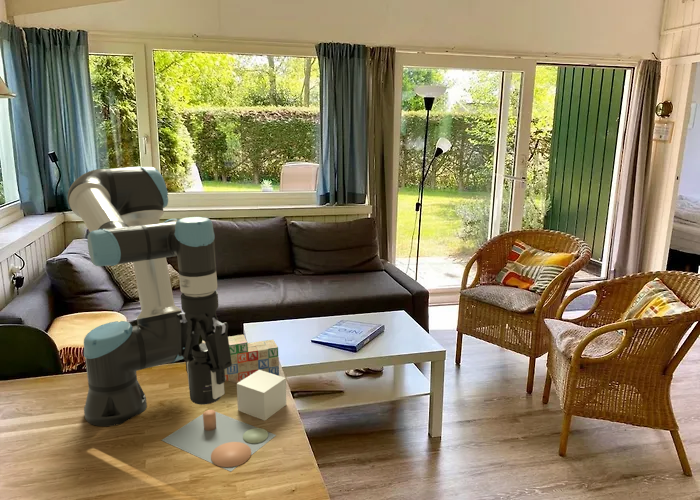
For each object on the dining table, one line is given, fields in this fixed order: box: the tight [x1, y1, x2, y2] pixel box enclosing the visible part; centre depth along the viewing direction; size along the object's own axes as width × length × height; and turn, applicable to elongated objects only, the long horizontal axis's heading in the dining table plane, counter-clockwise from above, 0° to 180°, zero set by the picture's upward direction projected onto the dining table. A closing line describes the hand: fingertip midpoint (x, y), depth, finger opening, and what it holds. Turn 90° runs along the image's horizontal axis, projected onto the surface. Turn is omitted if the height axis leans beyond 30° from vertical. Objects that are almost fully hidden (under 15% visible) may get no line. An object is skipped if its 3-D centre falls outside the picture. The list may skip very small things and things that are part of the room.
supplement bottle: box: [187, 342, 222, 406], centre depth 119 cm, size 7×7×12 cm
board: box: [160, 409, 277, 473], centre depth 131 cm, size 22×16×5 cm
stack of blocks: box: [201, 334, 280, 384], centre depth 162 cm, size 21×6×12 cm, turn 111°
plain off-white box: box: [236, 370, 287, 421], centre depth 144 cm, size 9×9×9 cm
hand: (206, 391), depth 120 cm, fingers closed on supplement bottle, 7 cm apart
